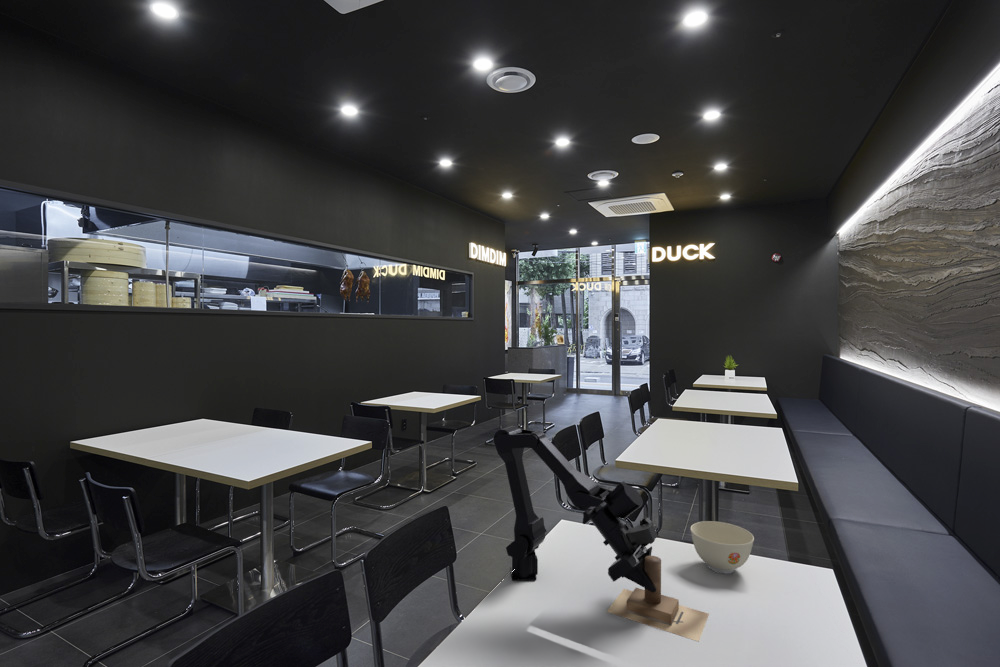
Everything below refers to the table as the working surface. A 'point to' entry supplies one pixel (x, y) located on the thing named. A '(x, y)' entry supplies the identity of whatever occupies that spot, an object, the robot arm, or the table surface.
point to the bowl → (722, 545)
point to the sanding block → (653, 597)
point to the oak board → (684, 623)
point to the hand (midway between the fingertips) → (657, 587)
